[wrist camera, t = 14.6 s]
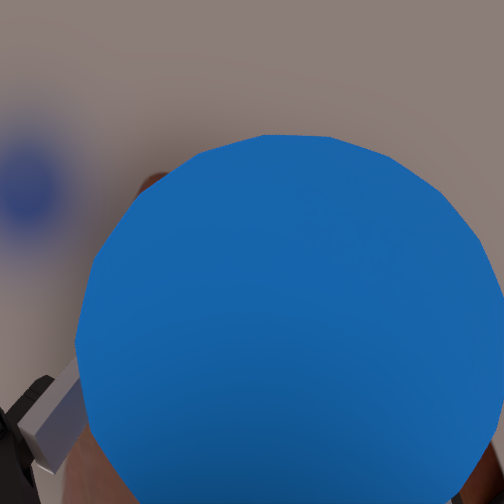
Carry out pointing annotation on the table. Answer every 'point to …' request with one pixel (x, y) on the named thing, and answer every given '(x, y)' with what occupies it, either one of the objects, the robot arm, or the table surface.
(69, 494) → the table surface
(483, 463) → the table surface
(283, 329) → the thermos
